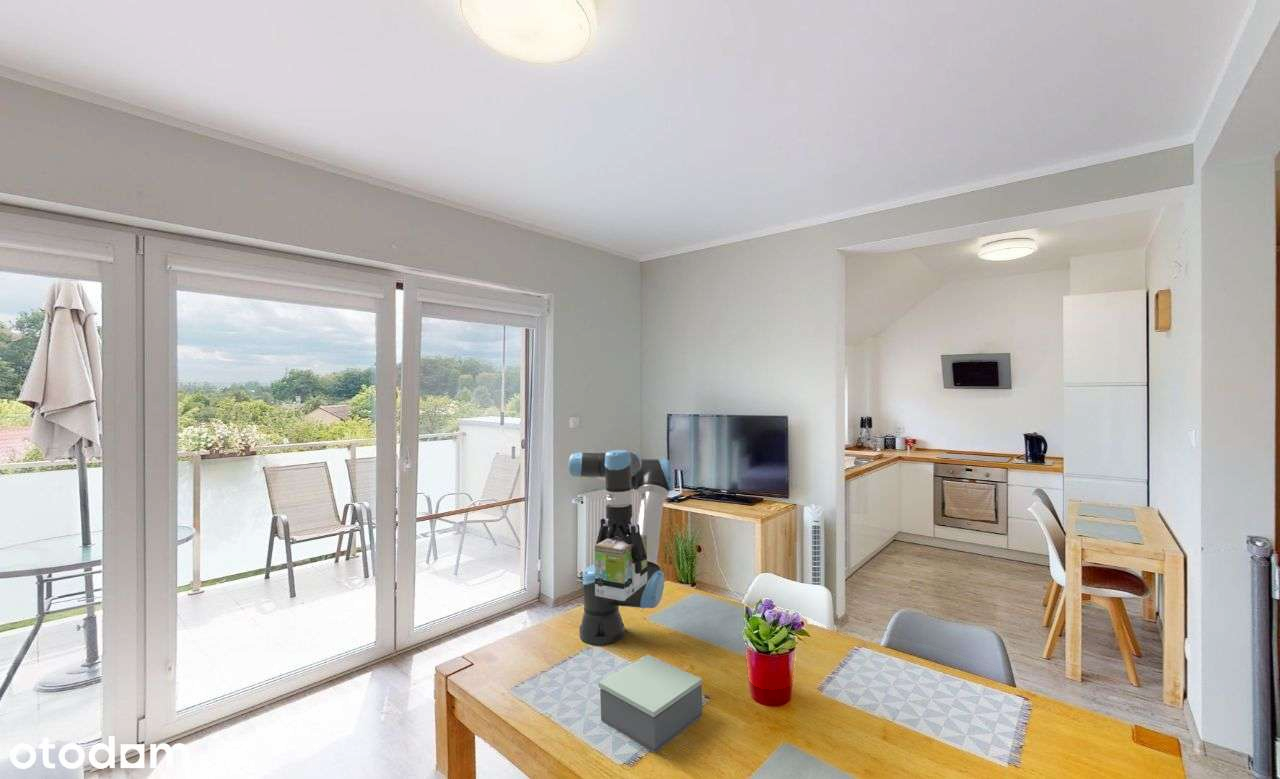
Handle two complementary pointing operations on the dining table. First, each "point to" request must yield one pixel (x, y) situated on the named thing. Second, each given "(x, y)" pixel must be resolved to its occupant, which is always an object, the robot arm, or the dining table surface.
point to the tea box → (617, 569)
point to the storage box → (651, 719)
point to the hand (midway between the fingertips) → (621, 578)
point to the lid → (650, 684)
